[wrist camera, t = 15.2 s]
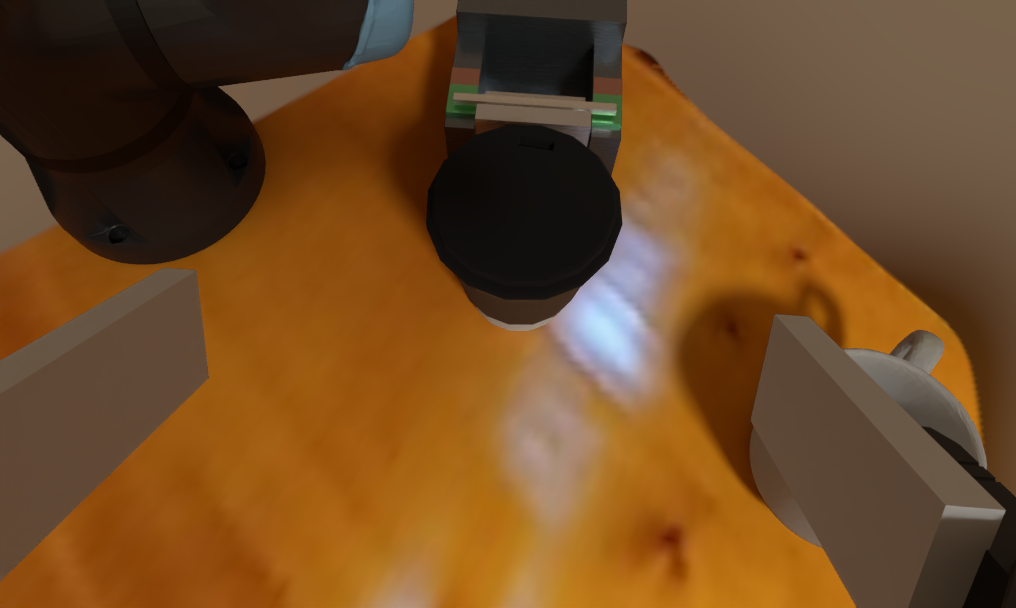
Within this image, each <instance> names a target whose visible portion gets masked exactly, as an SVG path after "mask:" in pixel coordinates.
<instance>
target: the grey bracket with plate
mask: <svg viewBox="0 0 1016 608" xmlns="http://www.w3.org/2000/svg"><path fill="white" fill-rule="evenodd" d="M453 105H468V106H477V108H476V116H475V126H476V135H477V134H481V133H484V132H487V131H490V130H493V129H496V128H499V127H502V126H505V125H542V126H545V127H547V128H550V129H553V130H556V131H559V132H562V133H565V134H568V135H571V136H574V137H575V138H576V139H577V140H579V141H580V142H581V143H583V144H584V145H585V146H586V147H587V144H588V139H589V134H590V129H591V114H597V115H612V116H615V115H616V104H614V103H599V102H585V98H583V97H569V96H554V95H540V94H525V93H510V92H496V91H486V93H485V95H483V94H469V93H454V96H453Z"/></svg>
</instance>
